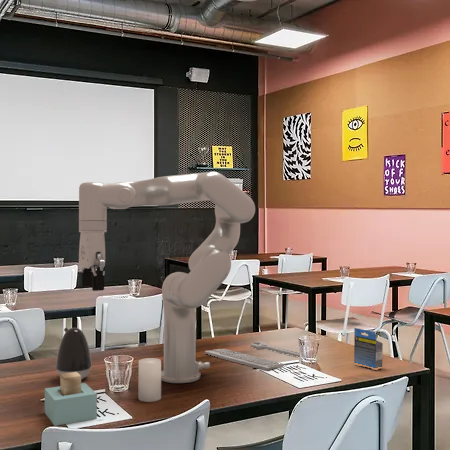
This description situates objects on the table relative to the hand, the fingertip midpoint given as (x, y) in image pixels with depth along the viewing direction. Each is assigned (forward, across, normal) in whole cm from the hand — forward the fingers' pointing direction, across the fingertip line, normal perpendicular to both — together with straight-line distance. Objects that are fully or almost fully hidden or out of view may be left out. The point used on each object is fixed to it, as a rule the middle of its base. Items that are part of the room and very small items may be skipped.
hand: (92, 288), depth 160 cm
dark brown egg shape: (+28, -12, -2) cm, 31 cm away
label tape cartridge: (+29, +20, +85) cm, 92 cm away
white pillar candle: (+28, +15, +11) cm, 34 cm away
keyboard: (+29, -7, +54) cm, 62 cm away
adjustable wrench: (+29, -10, +70) cm, 77 cm away
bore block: (+28, +18, -11) cm, 35 cm away
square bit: (+28, +18, -11) cm, 35 cm away
